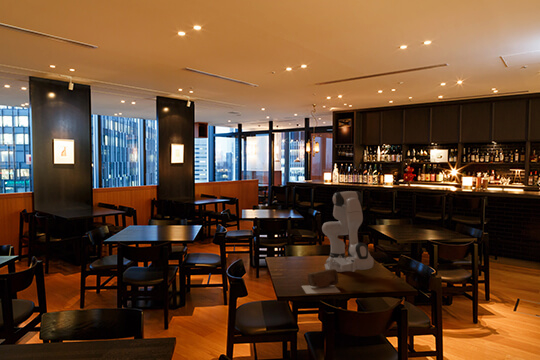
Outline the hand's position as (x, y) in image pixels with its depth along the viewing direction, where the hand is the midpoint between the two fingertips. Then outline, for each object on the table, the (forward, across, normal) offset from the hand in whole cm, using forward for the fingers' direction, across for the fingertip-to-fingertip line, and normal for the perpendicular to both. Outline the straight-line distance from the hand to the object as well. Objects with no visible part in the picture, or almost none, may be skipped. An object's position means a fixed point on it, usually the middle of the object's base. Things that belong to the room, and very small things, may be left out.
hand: (330, 264), depth 234 cm
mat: (+7, 0, +17) cm, 18 cm away
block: (-6, -5, +10) cm, 13 cm away
